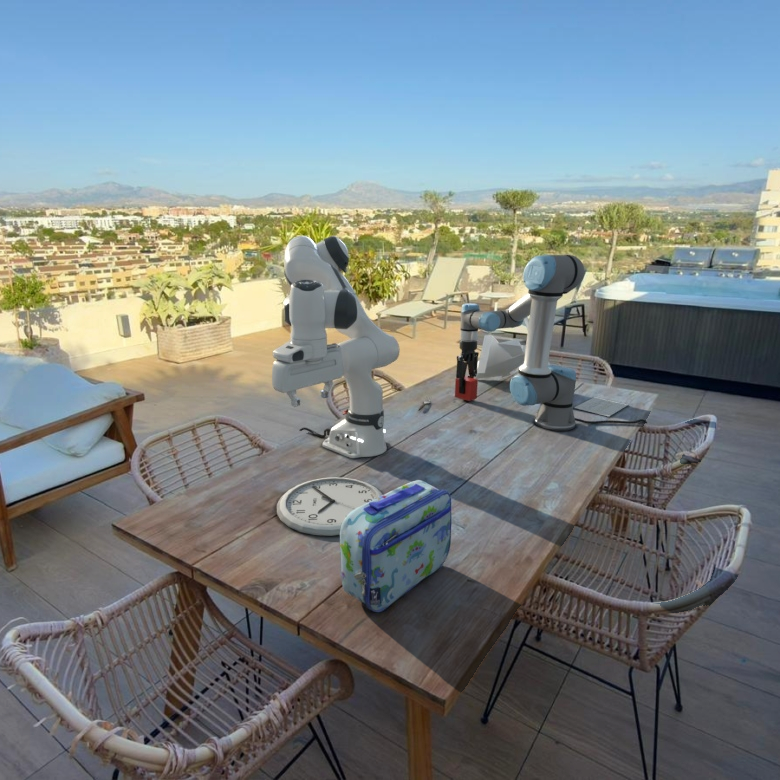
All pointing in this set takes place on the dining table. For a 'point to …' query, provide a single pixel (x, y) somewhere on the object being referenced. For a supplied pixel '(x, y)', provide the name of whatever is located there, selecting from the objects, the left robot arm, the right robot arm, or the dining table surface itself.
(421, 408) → the fork
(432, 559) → the lunch box
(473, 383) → the brick
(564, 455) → the dining table surface
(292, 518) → the wall clock
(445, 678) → the dining table surface
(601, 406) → the invitation card
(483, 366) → the white plastic object
